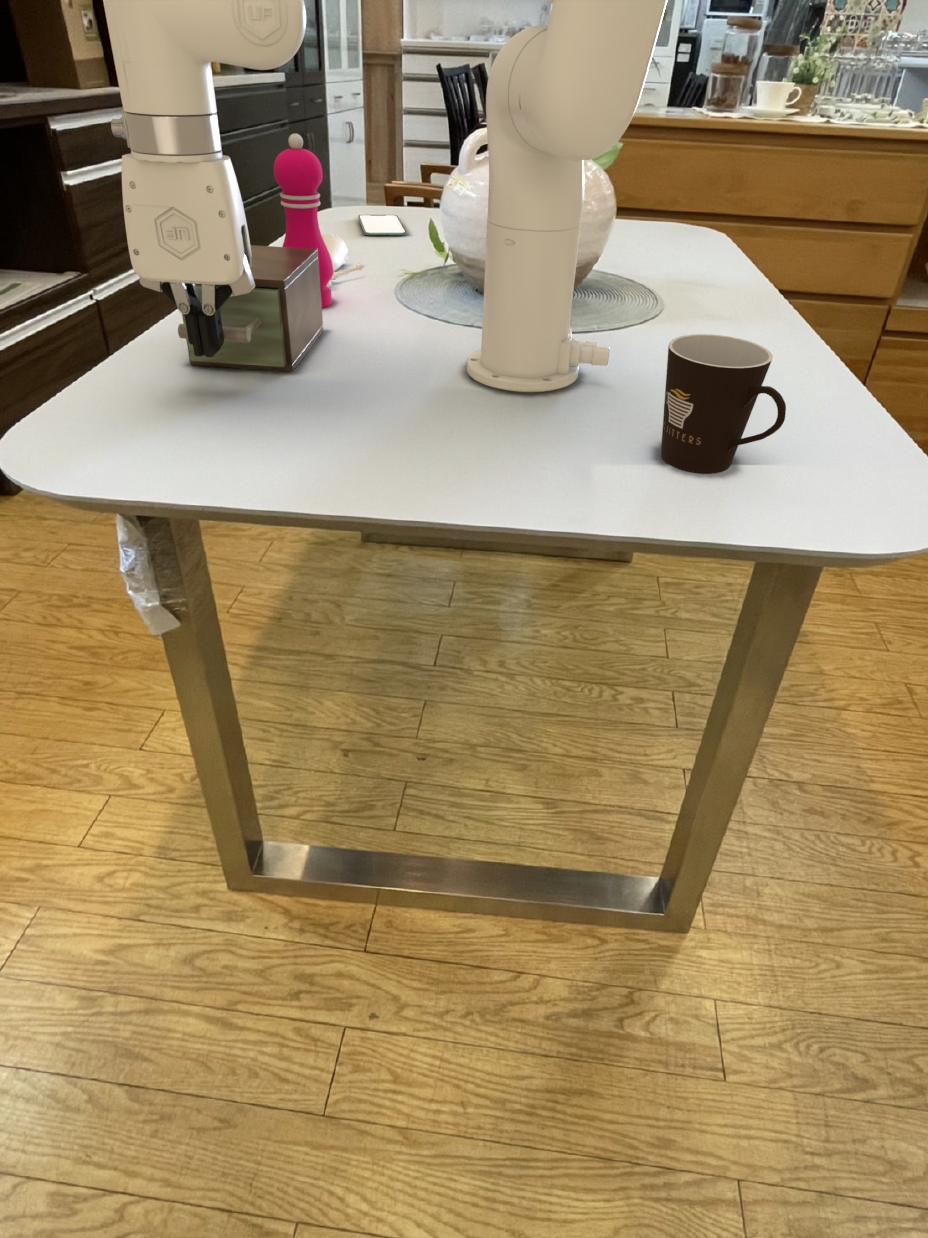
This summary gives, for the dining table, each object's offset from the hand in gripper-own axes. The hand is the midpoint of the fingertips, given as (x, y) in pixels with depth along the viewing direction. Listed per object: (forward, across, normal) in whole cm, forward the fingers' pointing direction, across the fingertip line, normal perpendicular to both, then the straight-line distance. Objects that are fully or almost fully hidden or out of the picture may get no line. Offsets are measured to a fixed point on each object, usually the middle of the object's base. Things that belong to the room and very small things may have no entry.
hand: (208, 352), depth 79 cm
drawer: (+4, 0, +11) cm, 12 cm away
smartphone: (+5, +3, +87) cm, 87 cm away
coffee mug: (+5, +48, -9) cm, 49 cm away
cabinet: (+5, 0, +16) cm, 16 cm away
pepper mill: (+5, +1, +35) cm, 35 cm away
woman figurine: (+5, +1, +50) cm, 50 cm away
